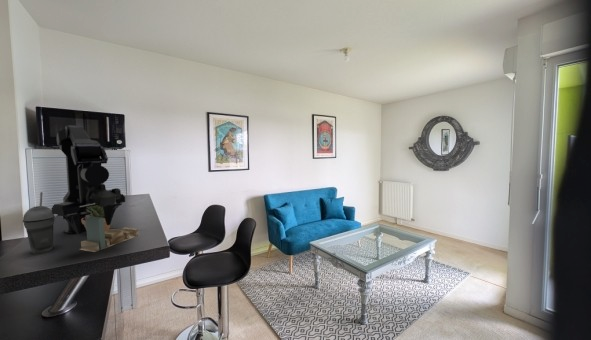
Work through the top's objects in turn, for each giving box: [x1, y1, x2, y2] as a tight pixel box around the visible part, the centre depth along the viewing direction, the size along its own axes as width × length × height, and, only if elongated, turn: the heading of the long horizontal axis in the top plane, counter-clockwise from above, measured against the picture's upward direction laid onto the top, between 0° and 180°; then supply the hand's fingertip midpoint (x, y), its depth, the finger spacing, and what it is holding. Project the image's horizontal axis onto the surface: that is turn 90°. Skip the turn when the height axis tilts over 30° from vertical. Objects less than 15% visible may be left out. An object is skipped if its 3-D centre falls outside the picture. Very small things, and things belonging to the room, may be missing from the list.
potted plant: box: [81, 182, 114, 231], centre depth 97 cm, size 10×10×25 cm
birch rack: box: [79, 227, 140, 253], centre depth 88 cm, size 16×7×4 cm, turn 162°
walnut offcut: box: [109, 235, 126, 246], centre depth 88 cm, size 5×6×2 cm
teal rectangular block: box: [85, 215, 107, 250], centre depth 82 cm, size 2×6×10 cm, turn 72°
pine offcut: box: [104, 228, 124, 239], centre depth 87 cm, size 4×5×2 cm
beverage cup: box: [22, 191, 56, 255], centre depth 80 cm, size 7×7×20 cm
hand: (94, 229), depth 82 cm, fingers open, 9 cm apart
